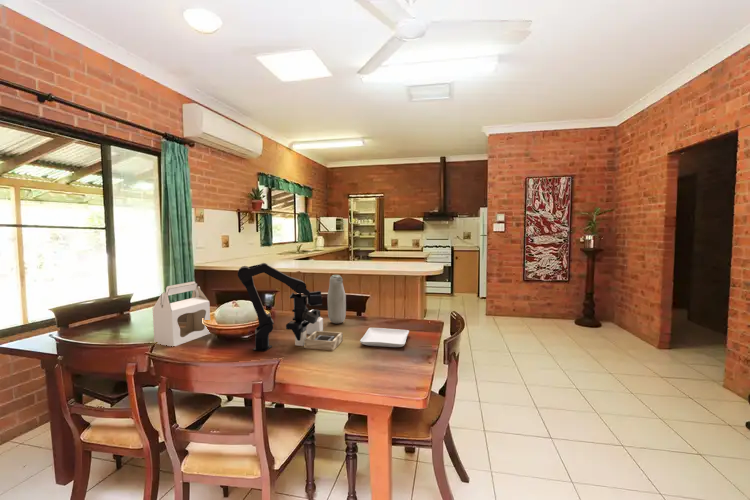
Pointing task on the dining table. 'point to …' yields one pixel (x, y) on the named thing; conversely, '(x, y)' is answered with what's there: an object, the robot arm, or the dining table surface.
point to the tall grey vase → (336, 300)
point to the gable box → (169, 313)
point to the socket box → (323, 340)
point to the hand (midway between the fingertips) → (300, 338)
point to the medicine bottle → (315, 324)
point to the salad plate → (385, 337)
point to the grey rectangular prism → (303, 337)
